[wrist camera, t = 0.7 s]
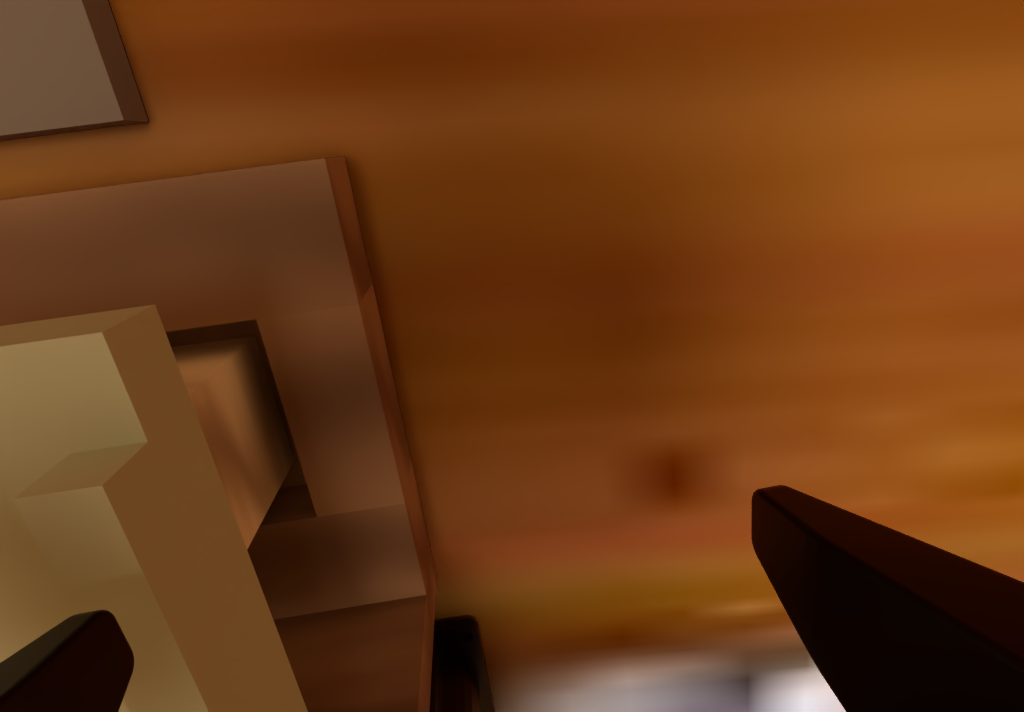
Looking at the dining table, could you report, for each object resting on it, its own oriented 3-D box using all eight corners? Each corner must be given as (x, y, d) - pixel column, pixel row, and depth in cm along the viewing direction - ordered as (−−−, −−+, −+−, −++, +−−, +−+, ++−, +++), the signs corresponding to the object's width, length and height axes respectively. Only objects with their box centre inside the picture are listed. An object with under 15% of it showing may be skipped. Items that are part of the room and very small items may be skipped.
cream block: (293, 460, 18) (222, 596, 13) (158, 480, 18) (27, 627, 13) (255, 335, 17) (154, 429, 11) (106, 356, 17) (-71, 462, 11)
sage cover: (323, 752, 14) (292, 889, 11) (15, 806, 13) (-87, 957, 11) (154, 304, 9) (44, 362, 7) (-303, 368, 9) (-593, 453, 7)
